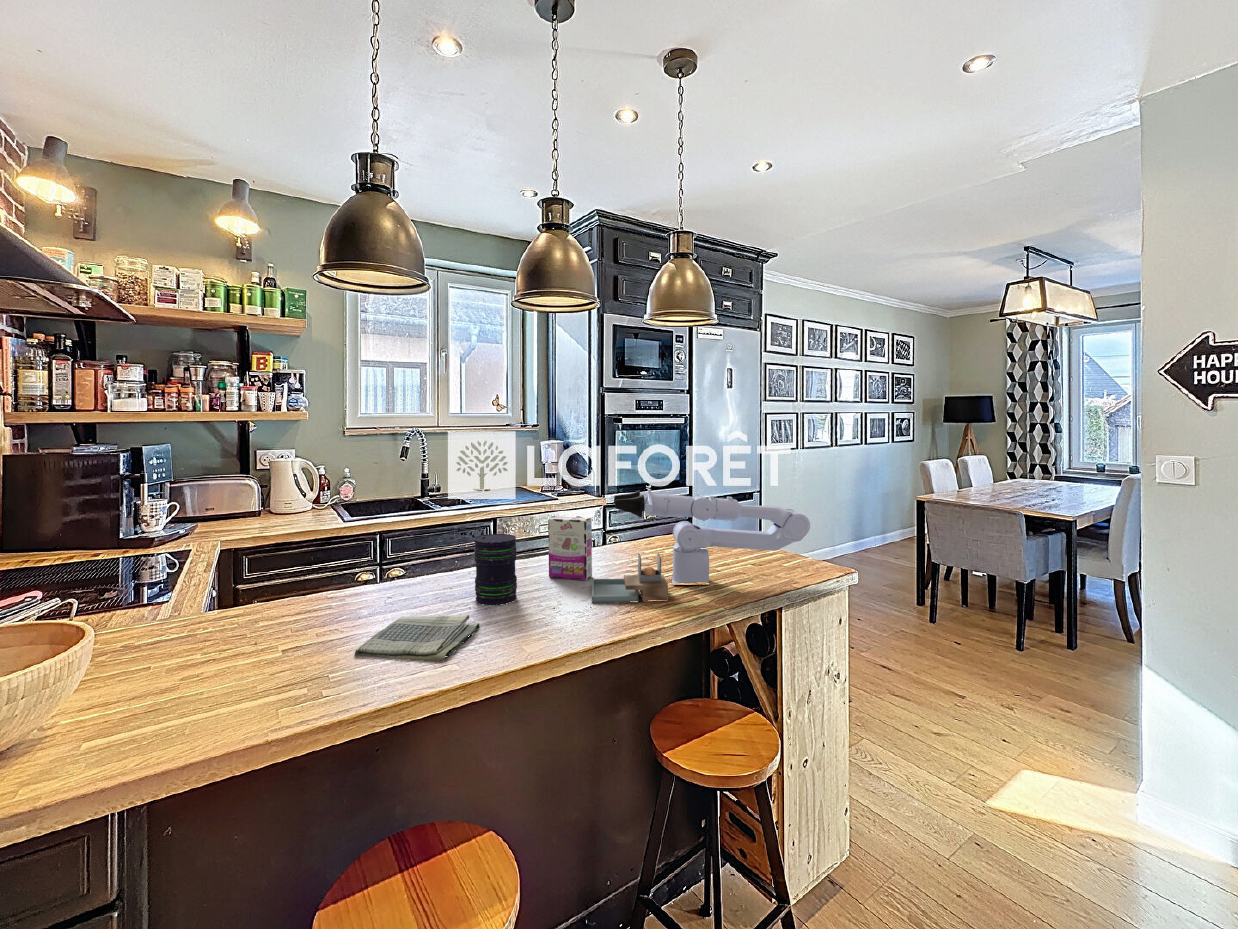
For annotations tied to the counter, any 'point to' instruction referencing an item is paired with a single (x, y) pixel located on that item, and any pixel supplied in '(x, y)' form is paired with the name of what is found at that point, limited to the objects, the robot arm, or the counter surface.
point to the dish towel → (419, 638)
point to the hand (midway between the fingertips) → (614, 501)
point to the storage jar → (495, 569)
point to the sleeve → (650, 578)
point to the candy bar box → (570, 548)
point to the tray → (612, 591)
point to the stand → (647, 588)
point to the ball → (649, 571)
